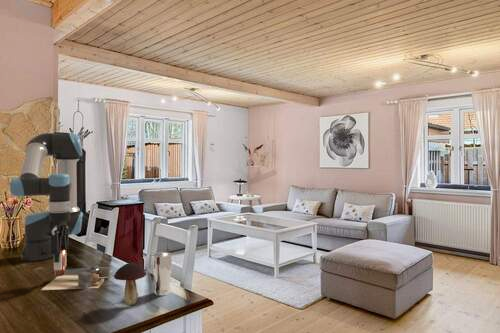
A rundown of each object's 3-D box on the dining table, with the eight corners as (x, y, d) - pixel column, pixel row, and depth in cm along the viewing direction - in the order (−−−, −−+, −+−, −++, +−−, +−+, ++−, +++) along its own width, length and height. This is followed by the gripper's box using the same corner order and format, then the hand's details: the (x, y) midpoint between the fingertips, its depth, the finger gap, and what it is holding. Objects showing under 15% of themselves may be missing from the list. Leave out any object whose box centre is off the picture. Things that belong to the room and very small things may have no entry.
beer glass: (155, 289, 137) (155, 252, 136) (173, 289, 137) (173, 251, 137) (151, 296, 130) (151, 257, 129) (170, 296, 130) (170, 256, 130)
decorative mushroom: (152, 301, 126) (152, 260, 125) (133, 313, 115) (133, 269, 115) (127, 297, 129) (127, 257, 129) (106, 309, 119) (106, 265, 118)
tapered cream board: (63, 275, 152) (62, 260, 152) (112, 273, 155) (112, 259, 155) (40, 294, 131) (40, 277, 131) (98, 291, 134) (98, 275, 134)
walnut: (89, 281, 141) (89, 272, 140) (100, 281, 141) (99, 271, 141) (86, 285, 137) (86, 275, 137) (96, 284, 137) (96, 274, 137)
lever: (57, 275, 144) (57, 249, 144) (111, 273, 147) (111, 247, 147) (52, 280, 139) (52, 252, 139) (107, 278, 142) (107, 250, 142)
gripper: (60, 214, 134) (61, 274, 134) (77, 208, 150) (77, 261, 151) (40, 215, 133) (40, 275, 133) (58, 208, 149) (59, 262, 150)
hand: (60, 267), depth 142 cm, fingers closed on lever, 4 cm apart
